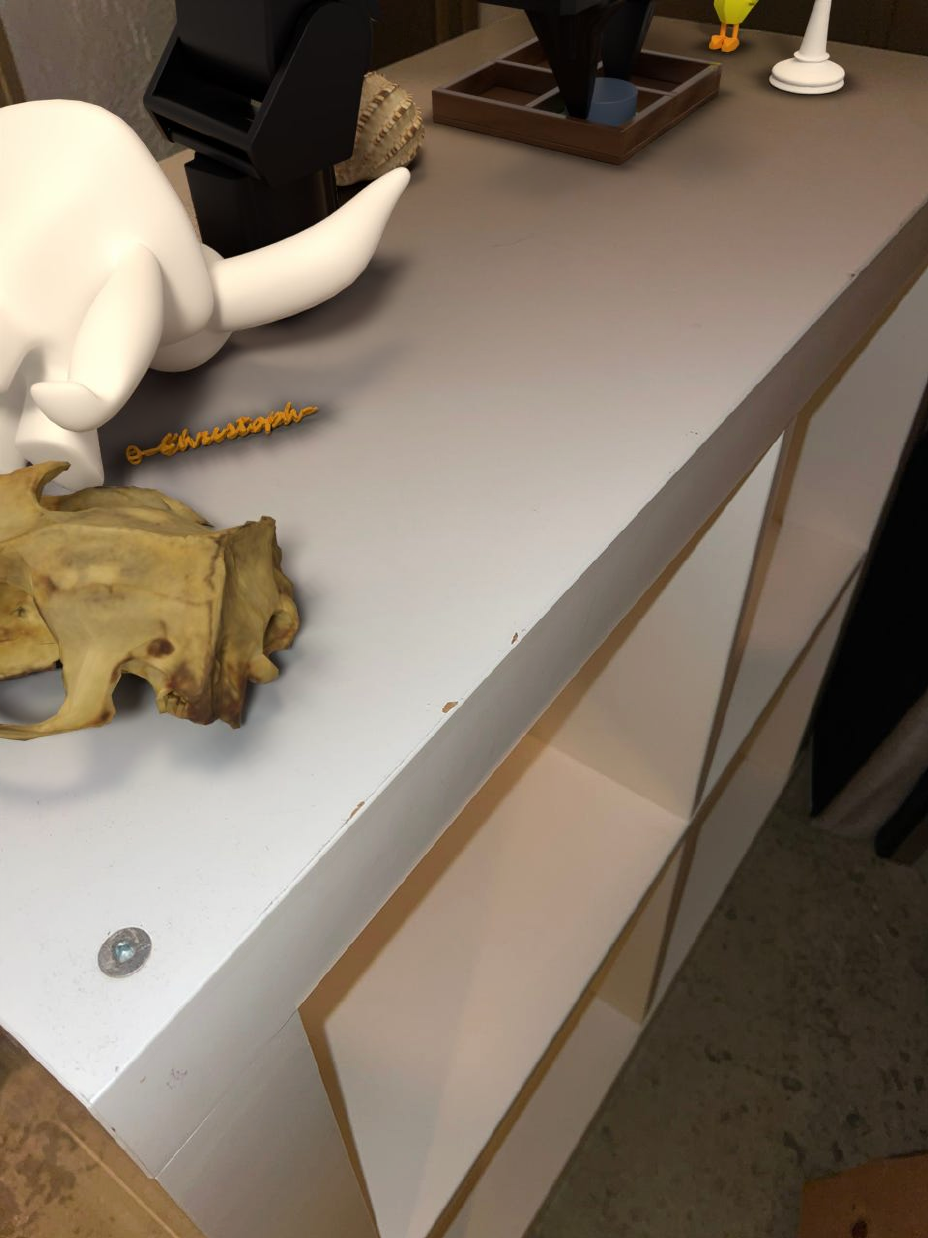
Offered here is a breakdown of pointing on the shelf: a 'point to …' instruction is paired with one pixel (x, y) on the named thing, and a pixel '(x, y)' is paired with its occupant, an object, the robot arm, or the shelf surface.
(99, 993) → the shelf surface
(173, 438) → the keychain
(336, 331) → the shelf surface
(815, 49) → the chess piece
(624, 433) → the shelf surface
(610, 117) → the short blue cylinder
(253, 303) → the toy animal
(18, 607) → the animal skull
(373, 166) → the seashell
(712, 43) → the toy figure
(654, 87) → the grid
